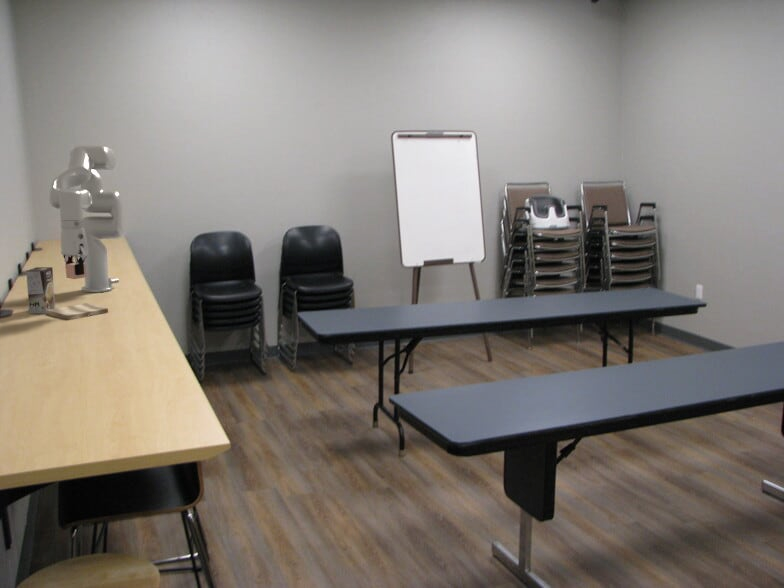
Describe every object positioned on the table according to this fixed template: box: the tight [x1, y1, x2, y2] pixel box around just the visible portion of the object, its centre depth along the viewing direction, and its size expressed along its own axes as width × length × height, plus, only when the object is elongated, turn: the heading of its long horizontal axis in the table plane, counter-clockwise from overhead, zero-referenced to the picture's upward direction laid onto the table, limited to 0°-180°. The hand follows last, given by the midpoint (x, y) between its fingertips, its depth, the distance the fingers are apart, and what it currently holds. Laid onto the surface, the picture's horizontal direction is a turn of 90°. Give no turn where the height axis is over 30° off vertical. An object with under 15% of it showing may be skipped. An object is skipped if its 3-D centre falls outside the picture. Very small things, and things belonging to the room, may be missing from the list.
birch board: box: [46, 302, 109, 321], centre depth 274 cm, size 16×14×2 cm
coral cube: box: [65, 262, 87, 280], centre depth 271 cm, size 5×5×5 cm
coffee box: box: [25, 266, 56, 314], centre depth 275 cm, size 9×6×16 cm
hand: (75, 273), depth 271 cm, fingers closed on coral cube, 5 cm apart
